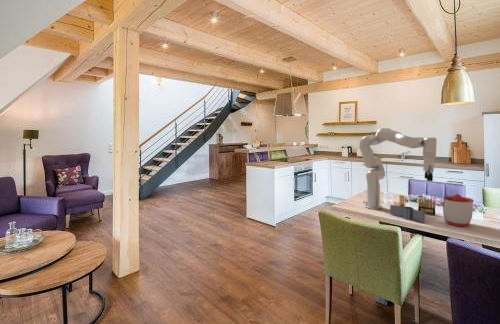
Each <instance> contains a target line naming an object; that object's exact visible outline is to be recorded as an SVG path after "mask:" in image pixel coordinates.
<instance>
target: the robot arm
mask: <svg viewBox="0 0 500 324" xmlns="http://www.w3.org/2000/svg"><path fill="white" fill-rule="evenodd" d="M386 141H388V142H392V143H393V144H394V143H395V144H397V145H400V146H402V147H406V148H410V149H420V148H422V158H423V164H422V165H423V167H422V168H423V169H422V170H423V172H424V179H426V181H427V182H433V181H434V170H435V159H436V158H437V141H438V140H437V138H436V137H434V136H432V137H429V136H428V137H421V136H416V137H413V136H407V135H404V134H402V132H400V131H397V130H392V129H391V128H388V127H387V128H385V127H383V128H382V127H381V128H378V129H377V131H376V133H375V134H370V135H369V134H368V135H365V136H363V137H361V139H360V141H359V144H358V145H359V149H360V153H361V157H362V160H363V163H364V166H365V168H367V169H370V170H368V171H367V172H366V174H365V178H366V179H365V180H366V186H367V187H366V188H367V189H366V190H367V191H366V193H367V194H366V195H367V196H366V197H367V198H366V200H363V201H362V204H365V205H364V206H366V207H367V208H366V207H365V208H366V209H369V208H371V210H381V209H382V208H383V206H382V205H381V185H380V180H383V179H385V177H386V171H385V168H384V167H385V166H384V164H383V161H382V159H381V158H380V157H379V156H376V155H374V152H373V150H372V148H371V146H376V145H381V143H383V142H386Z"/></svg>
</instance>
